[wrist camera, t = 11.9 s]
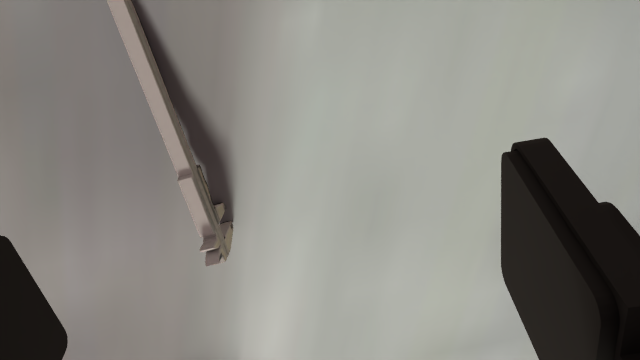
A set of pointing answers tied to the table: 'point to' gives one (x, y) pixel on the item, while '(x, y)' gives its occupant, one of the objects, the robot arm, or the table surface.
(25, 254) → the table surface
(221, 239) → the caliper
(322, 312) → the table surface
